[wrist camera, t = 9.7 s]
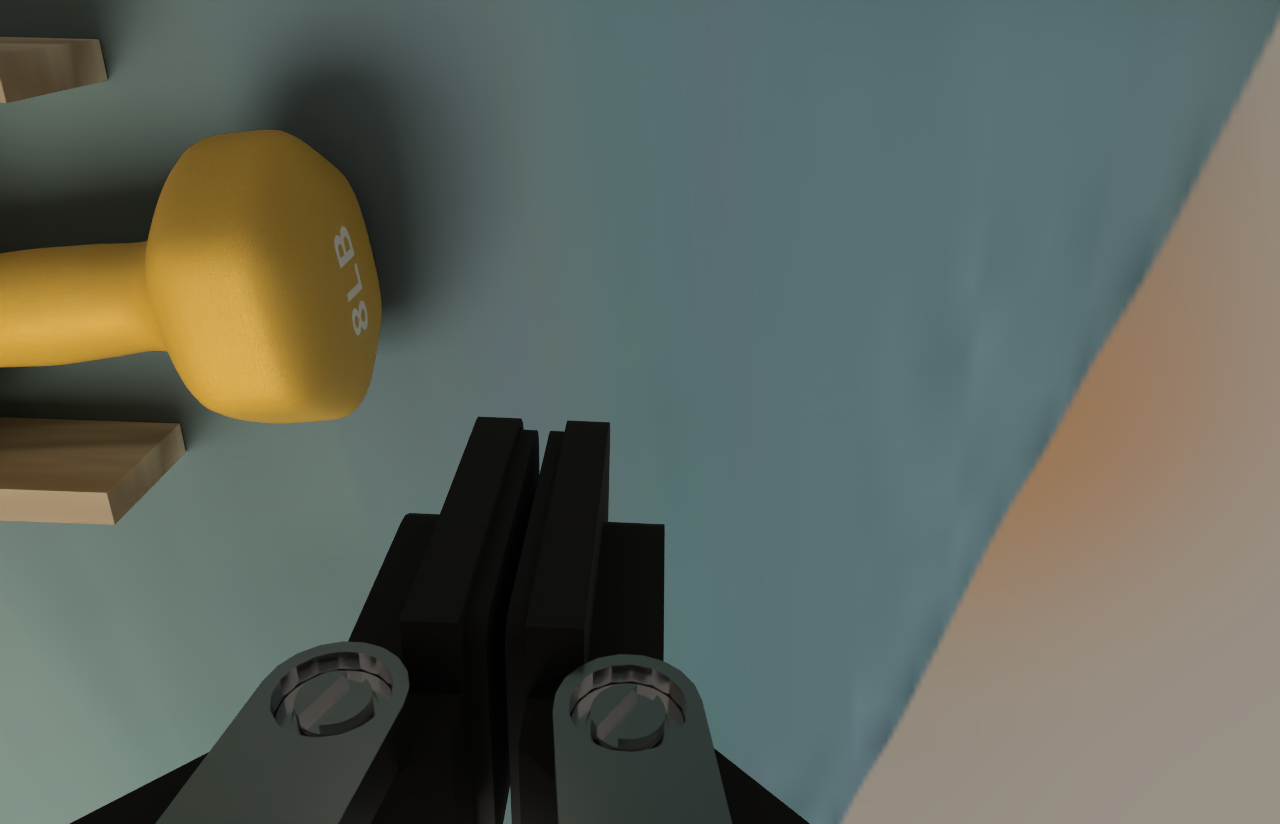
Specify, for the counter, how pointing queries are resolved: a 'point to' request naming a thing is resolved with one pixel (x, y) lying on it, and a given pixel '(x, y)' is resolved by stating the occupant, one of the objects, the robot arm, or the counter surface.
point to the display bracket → (60, 448)
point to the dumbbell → (219, 286)
